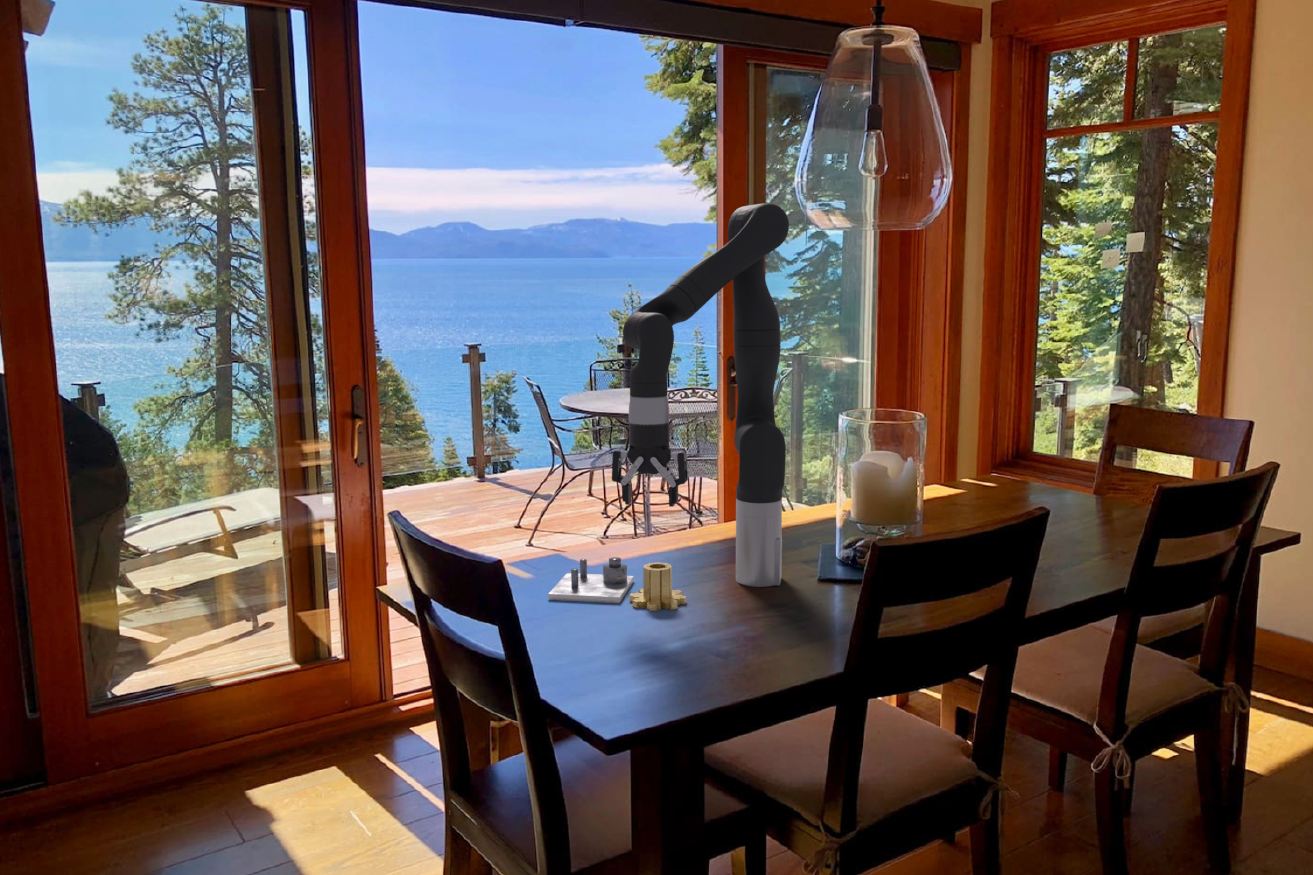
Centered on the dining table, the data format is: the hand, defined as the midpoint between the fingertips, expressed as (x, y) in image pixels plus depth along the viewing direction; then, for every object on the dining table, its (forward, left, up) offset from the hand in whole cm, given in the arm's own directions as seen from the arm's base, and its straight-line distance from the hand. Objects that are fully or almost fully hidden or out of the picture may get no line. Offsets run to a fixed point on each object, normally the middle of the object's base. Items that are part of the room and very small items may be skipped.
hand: (650, 504), depth 183 cm
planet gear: (-2, +1, -19) cm, 19 cm away
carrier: (+12, -4, -19) cm, 23 cm away
